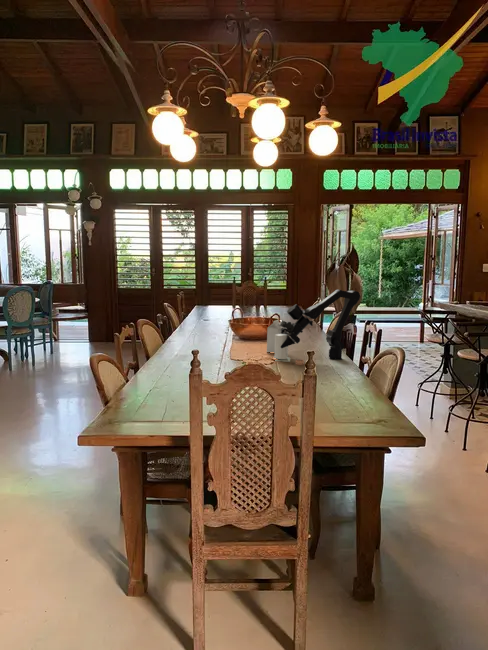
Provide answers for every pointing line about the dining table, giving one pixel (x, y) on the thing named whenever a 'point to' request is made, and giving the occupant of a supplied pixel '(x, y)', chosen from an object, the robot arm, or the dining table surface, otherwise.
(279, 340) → the white cylinder
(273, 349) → the milk carton
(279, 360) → the mat
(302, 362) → the bowl
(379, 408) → the dining table surface
